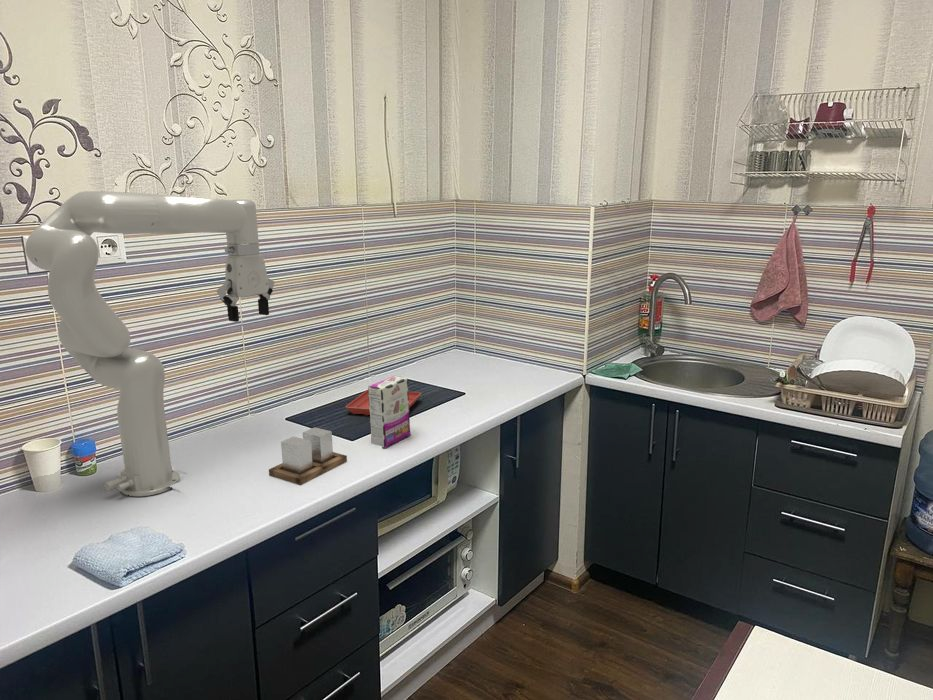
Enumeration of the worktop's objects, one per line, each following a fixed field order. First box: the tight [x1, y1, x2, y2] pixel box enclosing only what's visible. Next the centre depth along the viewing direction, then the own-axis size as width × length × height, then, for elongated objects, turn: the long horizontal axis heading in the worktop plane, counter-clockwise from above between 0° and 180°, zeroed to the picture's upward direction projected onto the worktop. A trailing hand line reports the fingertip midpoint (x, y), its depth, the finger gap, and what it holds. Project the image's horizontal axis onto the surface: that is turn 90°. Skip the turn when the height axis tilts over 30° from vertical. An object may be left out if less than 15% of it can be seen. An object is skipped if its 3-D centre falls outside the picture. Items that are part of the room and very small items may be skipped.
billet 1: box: [280, 436, 313, 475], centre depth 158 cm, size 4×6×8 cm
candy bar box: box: [367, 375, 411, 449], centre depth 180 cm, size 11×5×16 cm, turn 148°
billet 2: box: [302, 426, 334, 464], centre depth 164 cm, size 4×6×8 cm
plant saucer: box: [345, 389, 422, 416], centre depth 207 cm, size 18×18×3 cm
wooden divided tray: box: [268, 451, 348, 486], centre depth 162 cm, size 16×10×2 cm, turn 148°
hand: (249, 317), depth 174 cm, fingers open, 9 cm apart
